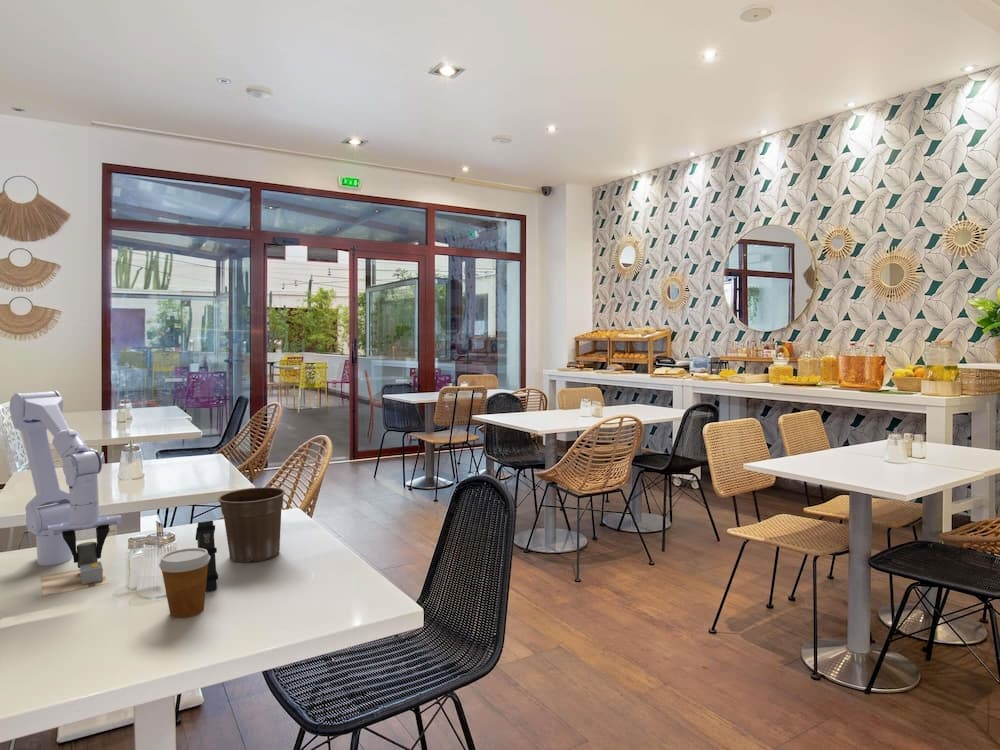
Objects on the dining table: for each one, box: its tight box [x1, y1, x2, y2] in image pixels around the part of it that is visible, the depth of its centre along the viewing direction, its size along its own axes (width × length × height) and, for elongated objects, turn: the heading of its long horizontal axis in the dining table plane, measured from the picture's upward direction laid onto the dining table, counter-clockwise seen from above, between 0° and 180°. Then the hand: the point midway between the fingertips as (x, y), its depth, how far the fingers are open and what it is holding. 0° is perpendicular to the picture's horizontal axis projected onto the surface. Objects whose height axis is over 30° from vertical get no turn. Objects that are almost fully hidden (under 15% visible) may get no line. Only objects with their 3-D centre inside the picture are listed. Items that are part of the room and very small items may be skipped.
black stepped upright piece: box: [195, 520, 219, 593], centre depth 149 cm, size 4×13×15 cm, turn 28°
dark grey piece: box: [76, 541, 99, 569], centre depth 153 cm, size 4×4×7 cm
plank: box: [40, 567, 108, 597], centre depth 149 cm, size 15×12×2 cm
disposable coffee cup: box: [158, 547, 210, 619], centre depth 133 cm, size 10×10×12 cm
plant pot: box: [217, 486, 286, 563], centre depth 168 cm, size 16×16×16 cm
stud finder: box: [79, 561, 104, 584], centre depth 148 cm, size 5×4×3 cm
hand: (87, 559), depth 153 cm, fingers closed on dark grey piece, 4 cm apart
